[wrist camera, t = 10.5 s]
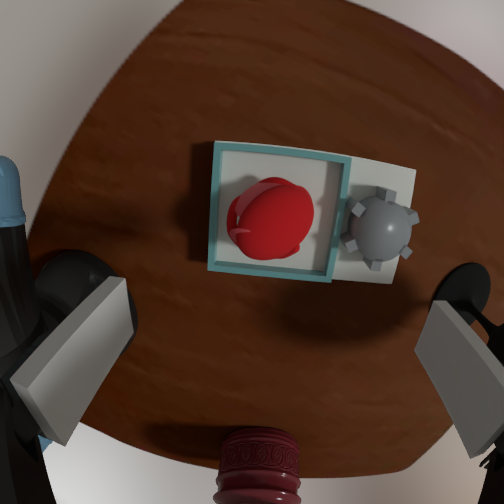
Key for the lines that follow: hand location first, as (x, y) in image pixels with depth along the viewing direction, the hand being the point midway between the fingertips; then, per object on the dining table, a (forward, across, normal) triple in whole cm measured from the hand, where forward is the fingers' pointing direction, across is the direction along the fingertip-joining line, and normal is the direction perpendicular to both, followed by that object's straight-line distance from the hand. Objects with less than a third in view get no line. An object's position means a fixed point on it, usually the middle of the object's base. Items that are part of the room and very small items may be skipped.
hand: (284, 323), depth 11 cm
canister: (+18, +2, -38) cm, 42 cm away
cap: (+16, 0, +1) cm, 16 cm away
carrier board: (+17, +4, +1) cm, 18 cm away
